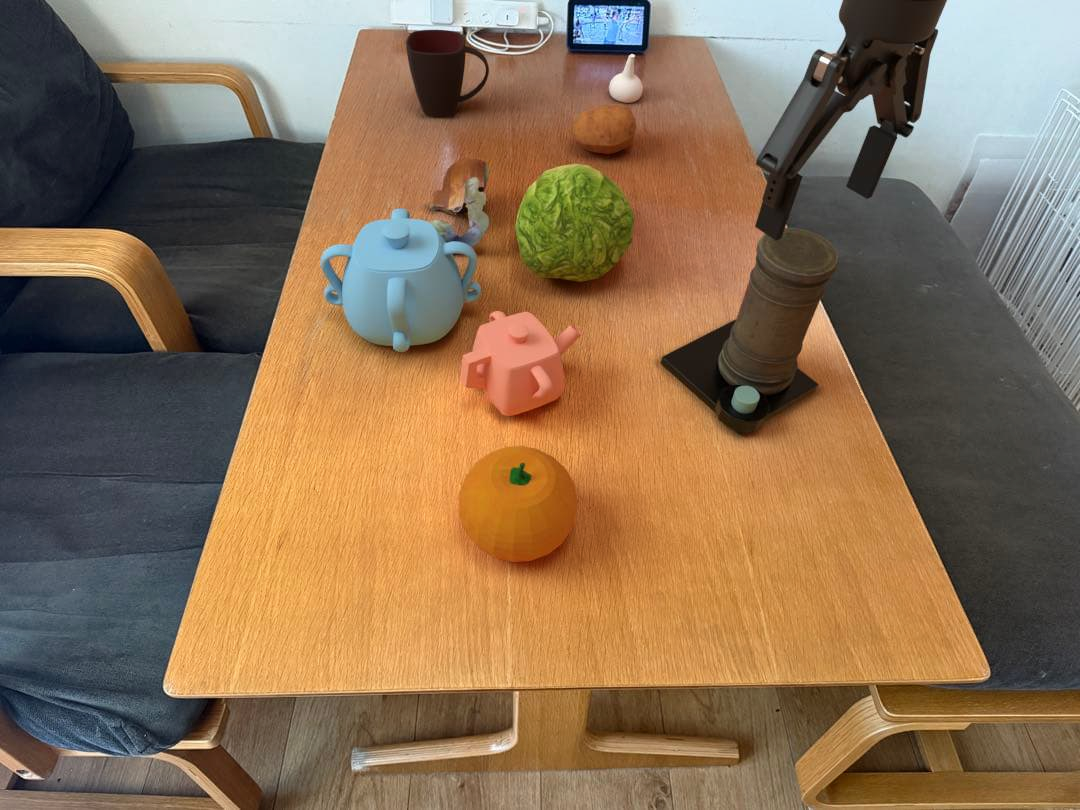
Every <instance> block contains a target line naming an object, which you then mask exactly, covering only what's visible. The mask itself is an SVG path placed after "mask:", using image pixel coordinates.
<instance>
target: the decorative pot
mask: <svg viewBox="0 0 1080 810" xmlns="http://www.w3.org/2000/svg"><path fill="white" fill-rule="evenodd" d="M427 221H428V220H425V219H419V218H411V214H410V211H409V210H408V209H406V208H401V207H399V208H395V209H393V210H392V212H391V216H390V218H386V219H385V218H384V219H378V220H373V221H371V222H368V223H366V224H365V225H364V226H363V227H362V228H361V229H360V230H359V232H358V234H357V235H356V237H355V240H354V242H353V244H352V245H351V244H345V243H338V244H333V245H331V246H329V247H327V248H326V249H325V250H324V251H323V252H322V254H321V256H320V267H321V271H322V273H323V275H324V277H325V278H326V280H327V281H328V283H329V284H328V285H327V286H325V288H324V291H323V296H324V297H323V298H324V299H325V301H326V303H328V304H330V305H333V306H335V307H337V306H338V307H340V306H342V308H343V309H342V310H343V313H344V316H345V318H346V320H347V322H348V324H349V326H350V327H351V329H352V330H353V332H355V333H356V334H357V335H358V336H359V337H361V338H362V339H364V340H365V341H367V342H369V343H370V344H371V343H372V344H374V345H378V346H385V347H386V346H390V347H392V348H393V350H394V351H396V352H398V353H405V352H406V351H408V350H409V348H410V346H418V345H425V344H426V345H427V344H431V343H434V342H437V341H439V340H441V339H442V338H443V337H445V336H446V335H447V334H448V333H450V331H451V330H452V329H453V328H454V326H455V325H456V324H457V321H458V320H459V318H460V316H461V313H462V310H463V307H464V302H468V303H472V302H474V301H477V300H478V299H479V298H480V297H481V294H482V287H481V285H480V283H478V282H477V281H473V278H474V275H475V272H476V271H477V265H478V256H477V253H476V251H475V250H474V248H473V246H472V247H470V246H469V245H467V244H465V243H462V242H457V241H453V242H448V243H446V242H445V241H444V239H443V238H442V236H441V235H440V233H439V232H438V231H437V229H436V228H435V227H434V226H433V225H432V224H431V223H429V222H430V221H429V222H427ZM455 253H456V254H455ZM453 254H454V255H457V254H458V255H463V256H465V257H467V258H468V262H467V265H466V269H465V271H464V274H463V276H461V272H460V269H459V265H458V263H457V261H456V258H455V256H454V255H453ZM336 257H343V258H347V259H346V262H345V266H344V269H343V276H342V280H341V278H340V277H339V275H338V274H337V273H336V271H335V270H334V268H333V266H332V263H331V261H330V260H331V259H333V258H336ZM335 292H336V293H335Z"/></svg>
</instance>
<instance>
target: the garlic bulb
mask: <svg viewBox="0 0 1080 810" xmlns="http://www.w3.org/2000/svg"><path fill="white" fill-rule="evenodd" d="M635 58H636V55H635V54H633V53H631V54H629V55H628V57H627V60H626V62H625V65H624V69H623V70H622V72H621V73H617V74H616V75H614V76H613V77H612V78H611V80H610V82H609V84H608V93H609V95H610V96H611V98H612V99H614V100H615V101H617V102H620V103H626V104H628V103H629V104H630V103H635V102H637V101H639V99H640V98H641V97H642V95H643V92H644V91H643V90H644V87H643V83H642V81H641V78H640V77H638V76H637V75H636V74H635Z"/></svg>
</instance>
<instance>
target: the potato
mask: <svg viewBox="0 0 1080 810" xmlns="http://www.w3.org/2000/svg"><path fill="white" fill-rule="evenodd" d="M570 127H571V128H570V129H571V130H570V135H571V137H572V138H573V140H574V141H575V143H576V144H577V145H578V147H580V148H581V149H583V150H585V151H588V152H591V153H597V154H603V155H604V154H605V155H609V154H614V153H617V152H620V151H622V150H625V149H626V148H628V147H630V146H631V145H632V144H633V143H634V139H635V135H636V132H637V127H638V126H637V121H636V118H635V116H634V113H633V111H632V110H631V108H630V106H628V105H626V104H623V103H613V104H605V105H600V106H596V107H594V108H591V109H587V110H584V111H581V112H580V113H579V114H577V115H576V116H575V117H574V118H573V120H572V122H571V126H570Z"/></svg>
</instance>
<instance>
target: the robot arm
mask: <svg viewBox="0 0 1080 810" xmlns="http://www.w3.org/2000/svg"><path fill="white" fill-rule="evenodd" d="M947 2H948V0H842V1H841V3H840V4H841V5H840V8H839V11H838V19H839V22H840V24H841V25H842V26H843V30H844V33H845V35H844V38H843V40H842V41H841V44H840V46H839V47H838V49H837V51H836V52H834V53H833V52H832V53H829V52H827V51H825V50H823V49H820V48H818V49H816V50H815V51H814V53H813V54H812V56H811V58H810V60H809V63H808V66H807V68H806V71H805V74H804V76H803V79H802V81H801V82H800V84H799V86H798V87H797V89H796V91H795V93H794V95H793V96H792V98H791V99H790V101H789V103H788V105H787V107H786V108H785V110H784V111H783V113H782V115H781V117H780V118H779V120H778V122H777V124H776V125H775V127H774V129H773V130H772V132H771V134H770V136H769V138H768V139H767V140H766V142H765V144H764V145H763V148H762V149H761V151H760V153H759V154H758V157H757V158H756V161H755V165H756V166H757V167H758V168H760V169H762V170H763V171H766V172H767V174H769V176H768V179H767V182H766V186H765V189H764V192H763V195H762V203H761V206H760V209H759V212H758V216H757V218H756V222H755V224H754V227H755V228H756V229H758V230H759V231H761V232H762V233H763V234H764V235H765V234H766V235H768V236H769V237H771V238H772V239H774V240H775V241H777V240H779V239H781V238H782V235H783V232H784V229H785V228H786V226H787V224H788V220H789V217H790V214H791V211H792V209H793V207H794V202H795V201H796V197H797V194H798V191H799V188H800V185H801V184H802V183H801V182H802V179H803V176H802V175H801V174H799V172H800V171H801V170H802V168H803V167H804V165H805V164H806V163H807V162H808V160H809V159H810V158H811V156H812V155H813V154H814V153H815V152H816V150H817V148H818V147H819V146H820V145H821V143H822V142H823V141H824V139H825V138H826V137H827V136H828V134H829V133H830V132H831V131H832V129H833V128H834V126H835V125H836V124H837V123H838V121H839V120H840V119H841V117H842V116H843V114H845V113H850V112H852V111H853V110H854V109H855V108H856V106H857V105H858V104H859V103H860V102H861V101H863V100H864V99H865V98H867V97H869V96H871V97H872V102H873V107H874V112H875V117H876V121H877V122H876V123H877V124H878V125H880V126H877V125H870V126H869V128H868V130H867V133H866V135H865V138H864V140H863V143H862V145H861V147H860V150H859V152H858V155H857V158H856V160H855V163H854V165H853V168H852V170H851V173H850V176H849V178H848V181H847V183H846V186H845V187H846V188H847V189H849V190H851V191H853V192H854V193H856V194H858V195H860V196H861V197H863V198H864V199H866V200H868V199H871V198H873V195H874V193H875V191H876V188H877V186H878V184H879V181H880V179H881V177H882V174H883V172H884V169H885V167H886V165H887V163H888V160H889V158H890V156H891V153H892V151H893V148H894V147H895V144H896V142H897V139H898V135H899V136H901V137H903V138H908V137H909V136H911V134H912V133H913V131H914V129H915V126H914V125H912V124H915V123H916V122H917V121H919V120H920V118H921V116H922V111H923V106H924V98H925V91H926V85H927V79H928V73H929V67H930V66H929V65H930V61H931V60H930V59H931V54H932V52H933V48H934V46H935V43H936V40H937V37H938V34H939V30H938V28H936V27H937V25H938V23H939V21H940V18H941V16H942V13H943V11H944V9H945V6H946V4H947ZM836 89H837V91H836ZM909 122H910V123H912V124H910V123H909Z"/></svg>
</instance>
